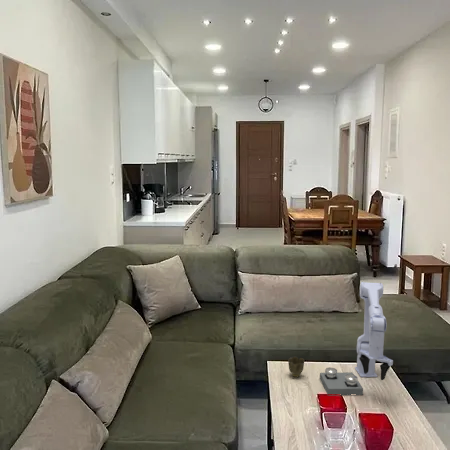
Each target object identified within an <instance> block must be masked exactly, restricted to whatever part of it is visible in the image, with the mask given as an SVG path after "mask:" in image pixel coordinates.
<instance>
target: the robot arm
mask: <svg viewBox="0 0 450 450" xmlns="http://www.w3.org/2000/svg"><path fill="white" fill-rule="evenodd" d="M383 295H384V283H382V282H368V281H367V282H366V281H361V282H360V285H359V297H360V299H362V300H363V301H364V311H363V312H364V313H363V314H364V317H363V334H361V335H360V336H358V337H357V338H356V339H357V340H356V354H357V356H356V366H355V367H354V369H355V371H356V372H357V374H358V375H359V376H360V378H378V374H377V373H376V372H375V371H376V362H380V363H381V364H380V365H379V367H380V380H381V381H384V380H385V378H386V376H387V372H388V371H389V369H390V367H392V366H393V364H394V360H393V359H391V358H389V357H387V356H386V355H384V344H385V342H384V341H385V333H386V331H387V318H386V317H385V315H384V313H383V312H384V311H383V306H381V304H380V299H381V298H382V297H383Z"/></svg>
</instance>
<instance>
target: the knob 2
mask: <svg viewBox="0 0 450 450" xmlns="http://www.w3.org/2000/svg"><path fill="white" fill-rule="evenodd" d="M345 380H346V385H347V386H348V387H356V382H357V381H358V382H359V380H358V376H357V375H355V374H354V375H351V374H349V375H346V376H345Z"/></svg>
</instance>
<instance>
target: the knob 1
mask: <svg viewBox="0 0 450 450" xmlns="http://www.w3.org/2000/svg"><path fill="white" fill-rule="evenodd" d="M324 373H326V374H327V375H326V378H327V379H335V378H336V374H337V373H338V369H337V368H335V367H331V366H330V367H326V368H325V369H324Z"/></svg>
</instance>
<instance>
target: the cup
mask: <svg viewBox="0 0 450 450" xmlns="http://www.w3.org/2000/svg"><path fill="white" fill-rule="evenodd" d="M287 361H288V370H289V372H290V373H291V376H292V377H294V378H300V375H301V373H303V371H304V366H305V359H304V358H302V357H300V358H298V356H291V357H289V358H288V359H287Z"/></svg>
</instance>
